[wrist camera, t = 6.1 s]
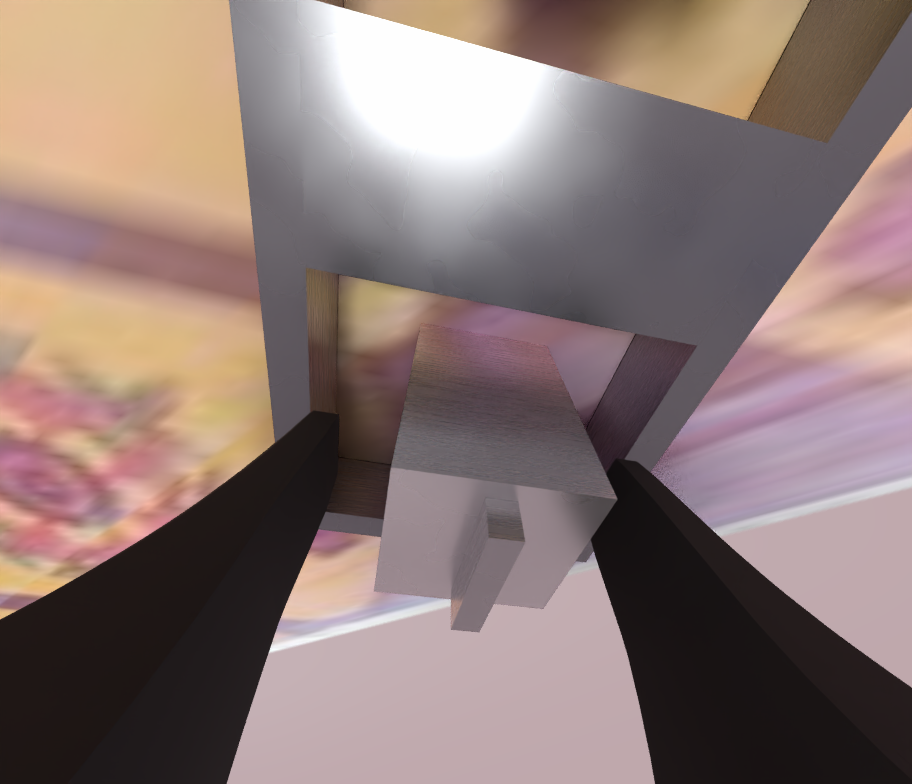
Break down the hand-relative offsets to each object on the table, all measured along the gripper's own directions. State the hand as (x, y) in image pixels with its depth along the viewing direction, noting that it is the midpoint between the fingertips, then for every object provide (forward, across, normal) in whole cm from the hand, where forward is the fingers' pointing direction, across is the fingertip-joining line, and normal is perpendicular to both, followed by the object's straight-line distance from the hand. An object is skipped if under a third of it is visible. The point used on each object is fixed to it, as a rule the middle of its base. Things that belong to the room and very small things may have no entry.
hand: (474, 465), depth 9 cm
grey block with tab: (+3, 0, 0) cm, 4 cm away
